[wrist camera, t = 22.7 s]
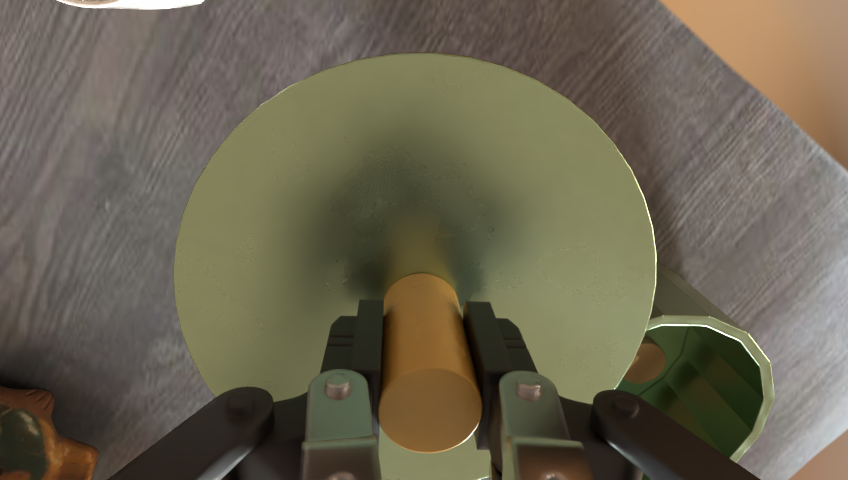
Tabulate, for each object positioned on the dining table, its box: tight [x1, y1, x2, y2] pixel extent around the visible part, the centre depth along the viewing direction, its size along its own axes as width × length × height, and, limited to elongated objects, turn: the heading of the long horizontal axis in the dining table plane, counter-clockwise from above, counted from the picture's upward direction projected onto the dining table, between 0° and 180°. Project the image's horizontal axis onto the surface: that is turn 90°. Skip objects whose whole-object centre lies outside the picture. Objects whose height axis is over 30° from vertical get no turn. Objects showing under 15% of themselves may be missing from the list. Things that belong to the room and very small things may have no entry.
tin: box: [615, 262, 775, 480], centre depth 37 cm, size 14×14×10 cm
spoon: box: [623, 336, 666, 383], centre depth 40 cm, size 10×4×3 cm, turn 57°
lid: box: [174, 52, 656, 480], centre depth 14 cm, size 15×15×6 cm
